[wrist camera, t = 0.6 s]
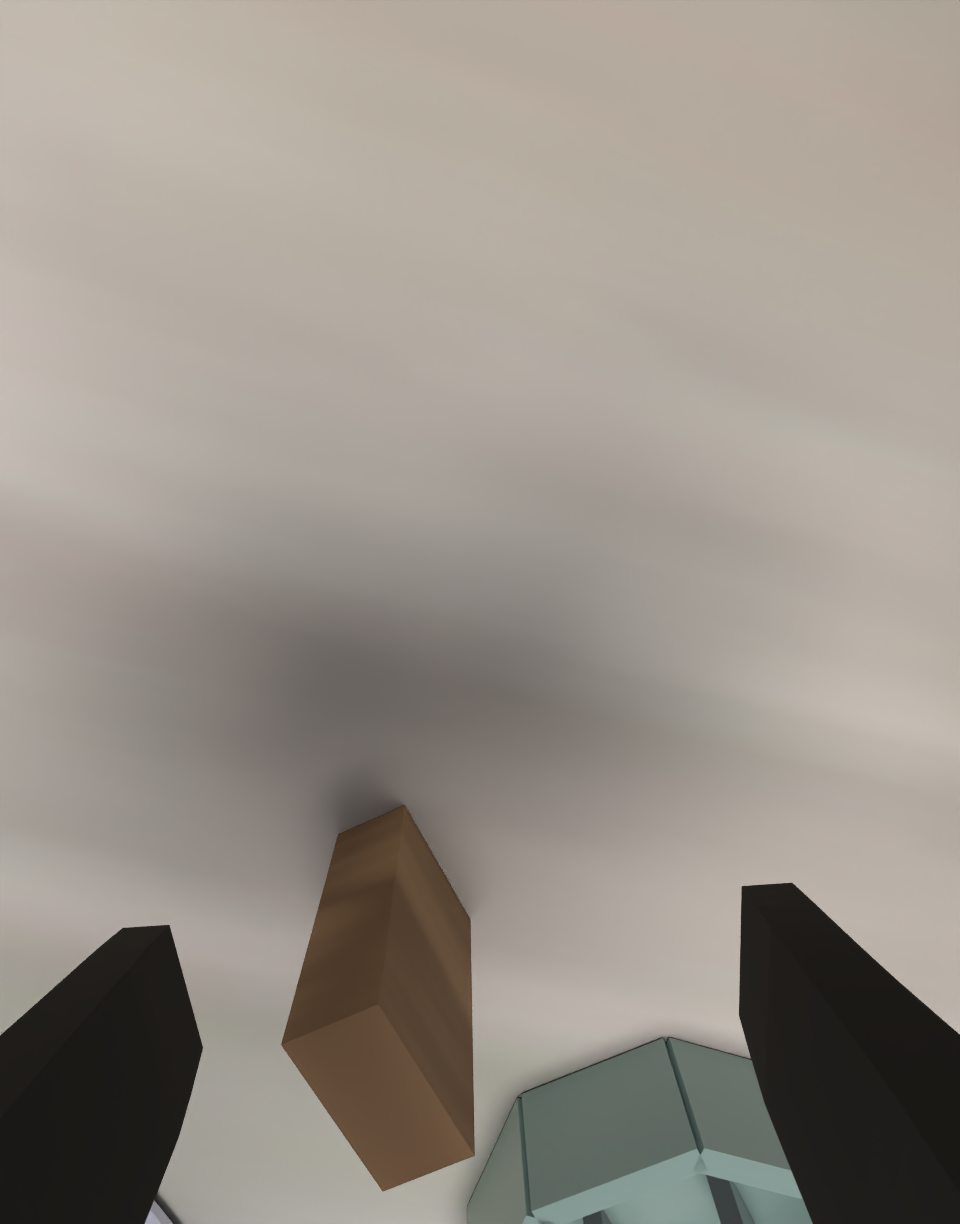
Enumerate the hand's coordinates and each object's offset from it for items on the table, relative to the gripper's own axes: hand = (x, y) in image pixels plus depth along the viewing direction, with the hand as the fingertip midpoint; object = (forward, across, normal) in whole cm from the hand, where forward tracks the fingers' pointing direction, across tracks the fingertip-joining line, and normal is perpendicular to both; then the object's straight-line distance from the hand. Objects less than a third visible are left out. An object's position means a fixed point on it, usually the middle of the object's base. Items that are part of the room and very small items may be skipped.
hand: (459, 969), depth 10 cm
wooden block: (+10, +2, +6) cm, 12 cm away
